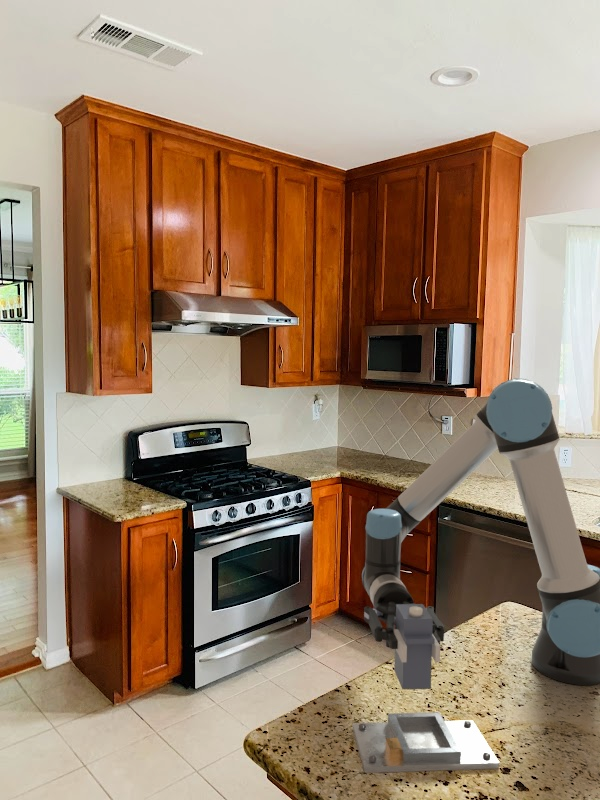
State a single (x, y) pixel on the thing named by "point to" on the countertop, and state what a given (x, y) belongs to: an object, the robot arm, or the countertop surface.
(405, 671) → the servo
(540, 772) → the countertop surface
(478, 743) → the chassis
